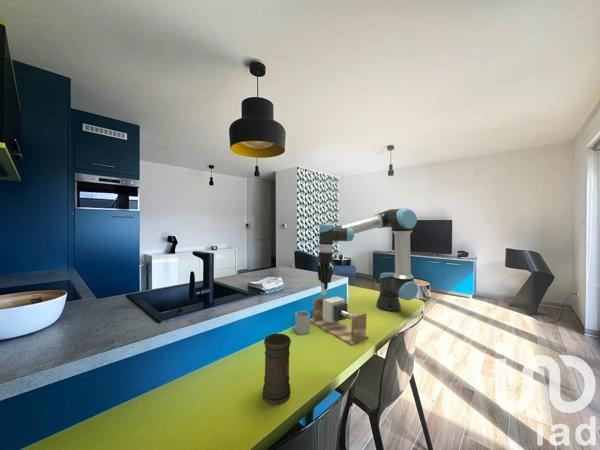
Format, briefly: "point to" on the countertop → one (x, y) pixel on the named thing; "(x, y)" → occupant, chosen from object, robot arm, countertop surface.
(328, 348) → the countertop surface
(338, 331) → the stand
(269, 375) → the container
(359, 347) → the countertop surface
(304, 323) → the cup
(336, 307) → the dark grey square plate
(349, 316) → the pipe
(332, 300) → the sleeve
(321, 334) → the countertop surface
